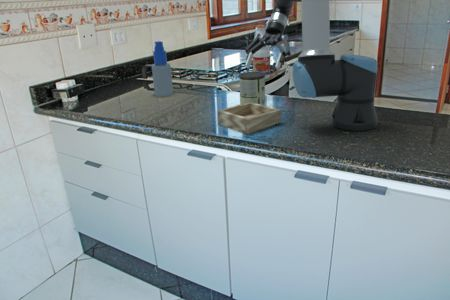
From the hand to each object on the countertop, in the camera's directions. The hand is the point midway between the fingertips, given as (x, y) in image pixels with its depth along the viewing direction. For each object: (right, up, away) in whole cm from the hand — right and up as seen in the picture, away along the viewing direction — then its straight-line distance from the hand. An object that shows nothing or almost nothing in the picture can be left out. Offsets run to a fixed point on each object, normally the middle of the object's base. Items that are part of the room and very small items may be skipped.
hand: (261, 67), depth 155 cm
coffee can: (-4, -17, -2) cm, 18 cm away
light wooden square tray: (-6, -24, -20) cm, 32 cm away
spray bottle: (-45, -7, +29) cm, 54 cm away
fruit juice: (+5, +6, +53) cm, 54 cm away
